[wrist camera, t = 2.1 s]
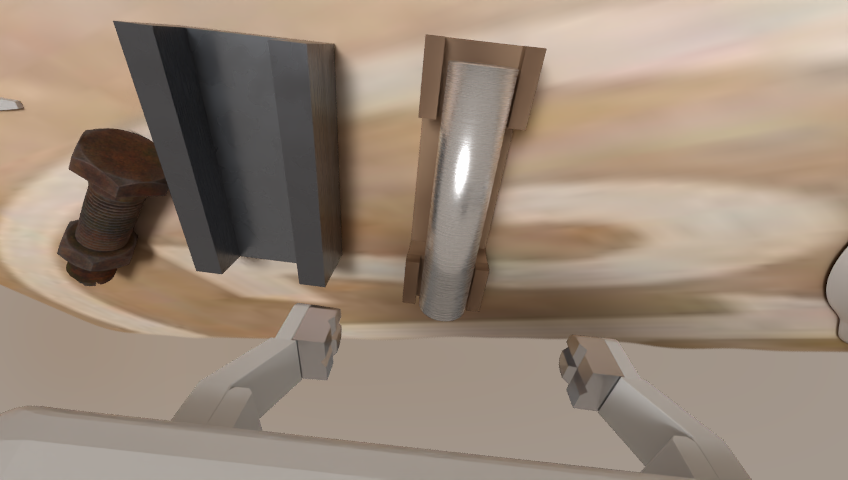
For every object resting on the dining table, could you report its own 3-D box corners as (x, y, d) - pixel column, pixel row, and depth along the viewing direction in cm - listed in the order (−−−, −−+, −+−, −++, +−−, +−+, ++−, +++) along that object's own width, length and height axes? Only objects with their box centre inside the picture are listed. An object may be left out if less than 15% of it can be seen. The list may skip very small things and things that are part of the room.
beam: (530, 47, 20) (546, 48, 16) (475, 280, 29) (478, 311, 26) (430, 36, 20) (425, 34, 16) (408, 271, 29) (402, 302, 26)
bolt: (118, 245, 32) (161, 133, 26) (142, 285, 32) (193, 181, 25) (30, 258, 27) (54, 122, 20) (56, 306, 27) (90, 182, 20)
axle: (448, 59, 18) (448, 62, 15) (512, 66, 18) (525, 71, 15) (420, 286, 26) (416, 317, 23) (464, 291, 26) (465, 324, 23)
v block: (334, 43, 20) (306, 43, 16) (342, 254, 29) (325, 287, 25) (176, 25, 20) (112, 20, 17) (230, 240, 29) (196, 270, 25)
